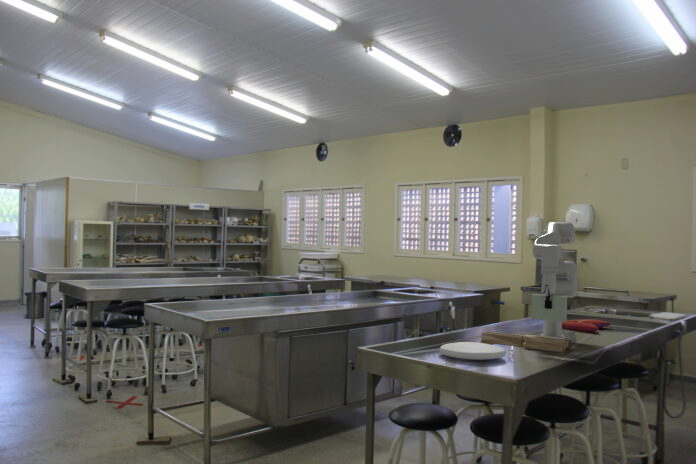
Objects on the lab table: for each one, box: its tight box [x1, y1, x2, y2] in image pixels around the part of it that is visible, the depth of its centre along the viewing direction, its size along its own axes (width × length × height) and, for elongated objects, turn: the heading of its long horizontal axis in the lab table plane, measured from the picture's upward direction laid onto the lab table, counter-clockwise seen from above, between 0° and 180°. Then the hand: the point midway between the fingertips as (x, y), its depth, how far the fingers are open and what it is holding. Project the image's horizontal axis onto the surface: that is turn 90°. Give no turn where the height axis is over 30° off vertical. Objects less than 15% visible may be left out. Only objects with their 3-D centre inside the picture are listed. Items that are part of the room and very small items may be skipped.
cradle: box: [479, 331, 526, 347], centre depth 265 cm, size 10×20×5 cm, turn 57°
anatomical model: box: [562, 318, 612, 333], centre depth 326 cm, size 30×7×30 cm
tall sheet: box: [530, 293, 568, 323], centre depth 257 cm, size 2×16×12 cm, turn 57°
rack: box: [522, 333, 573, 354], centre depth 254 cm, size 14×20×7 cm
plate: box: [439, 341, 507, 361], centre depth 234 cm, size 28×6×27 cm
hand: (548, 308), depth 257 cm, fingers closed on tall sheet, 2 cm apart
